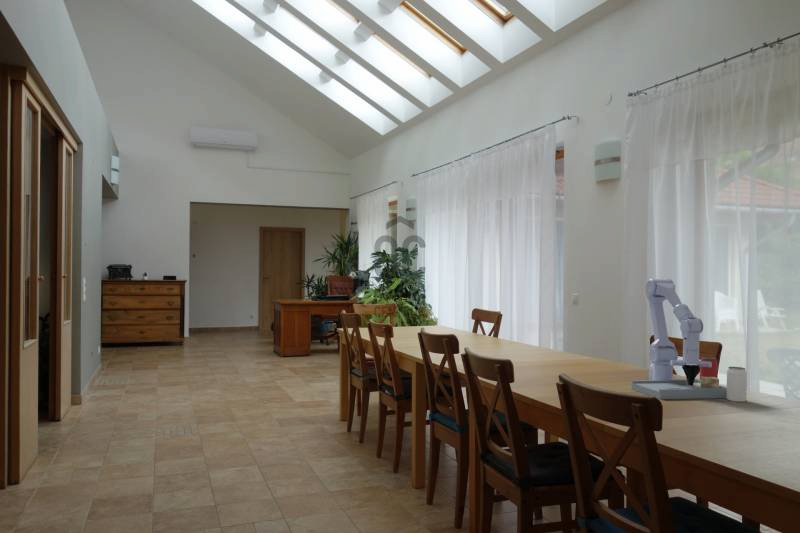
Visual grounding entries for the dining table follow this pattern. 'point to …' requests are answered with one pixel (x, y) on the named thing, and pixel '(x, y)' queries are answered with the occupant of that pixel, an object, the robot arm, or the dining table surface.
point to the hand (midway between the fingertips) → (690, 385)
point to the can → (736, 384)
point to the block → (709, 382)
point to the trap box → (677, 389)
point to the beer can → (709, 368)
